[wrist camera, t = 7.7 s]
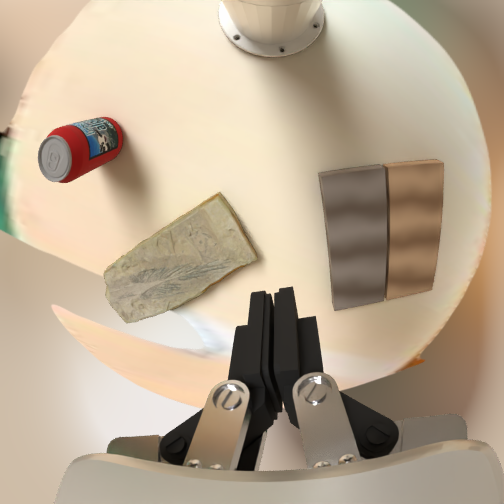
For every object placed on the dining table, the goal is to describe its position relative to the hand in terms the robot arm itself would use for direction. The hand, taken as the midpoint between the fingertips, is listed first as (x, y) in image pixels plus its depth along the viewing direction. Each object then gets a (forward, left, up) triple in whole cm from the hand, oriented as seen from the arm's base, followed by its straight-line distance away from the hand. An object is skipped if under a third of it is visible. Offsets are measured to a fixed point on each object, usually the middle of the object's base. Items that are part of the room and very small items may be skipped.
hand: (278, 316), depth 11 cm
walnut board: (+13, +19, -27) cm, 36 cm away
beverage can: (-10, -22, -27) cm, 36 cm away
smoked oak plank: (+13, +10, -27) cm, 31 cm away
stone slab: (+12, -20, -28) cm, 36 cm away
